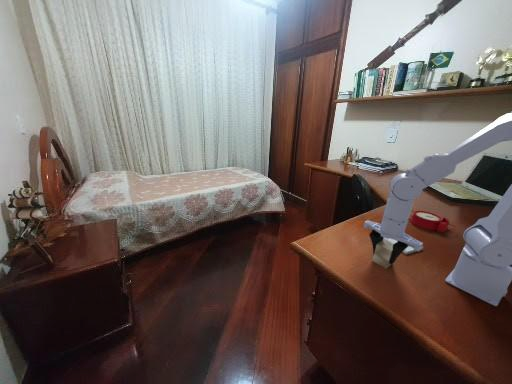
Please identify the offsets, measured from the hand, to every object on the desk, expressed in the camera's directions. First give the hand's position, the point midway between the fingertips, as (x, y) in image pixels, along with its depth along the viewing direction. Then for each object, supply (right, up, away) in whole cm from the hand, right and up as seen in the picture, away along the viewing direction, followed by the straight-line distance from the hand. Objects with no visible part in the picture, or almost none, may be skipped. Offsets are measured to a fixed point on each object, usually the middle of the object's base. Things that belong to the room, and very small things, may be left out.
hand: (383, 258), depth 61 cm
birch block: (0, -1, 0) cm, 1 cm away
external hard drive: (+12, +2, +11) cm, 16 cm away
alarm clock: (+33, +6, +23) cm, 41 cm away
